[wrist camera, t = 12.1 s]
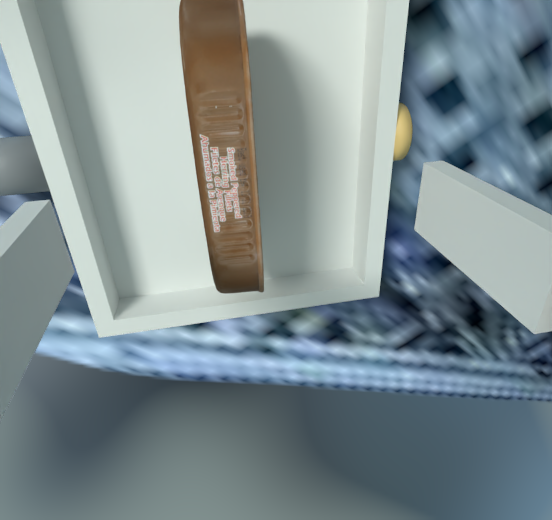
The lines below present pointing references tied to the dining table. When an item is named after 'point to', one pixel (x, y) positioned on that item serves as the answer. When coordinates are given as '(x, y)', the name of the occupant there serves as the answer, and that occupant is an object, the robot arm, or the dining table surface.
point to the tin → (223, 139)
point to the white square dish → (180, 159)
